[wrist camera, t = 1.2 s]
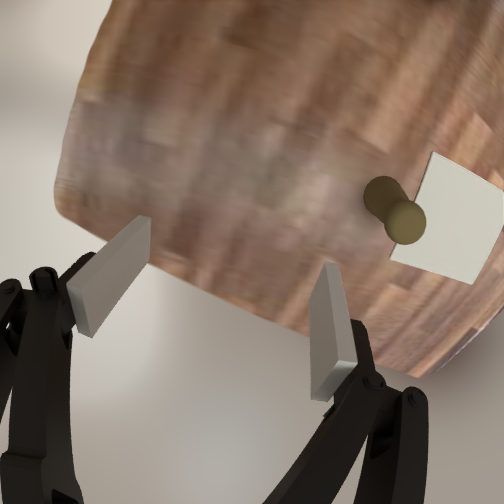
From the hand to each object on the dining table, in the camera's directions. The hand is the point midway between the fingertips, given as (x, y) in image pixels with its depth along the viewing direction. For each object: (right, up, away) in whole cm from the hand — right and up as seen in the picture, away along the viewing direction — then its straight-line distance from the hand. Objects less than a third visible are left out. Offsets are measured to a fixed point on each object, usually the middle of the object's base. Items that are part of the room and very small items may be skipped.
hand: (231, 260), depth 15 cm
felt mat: (+34, +5, +22) cm, 41 cm away
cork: (+20, +8, +22) cm, 31 cm away
